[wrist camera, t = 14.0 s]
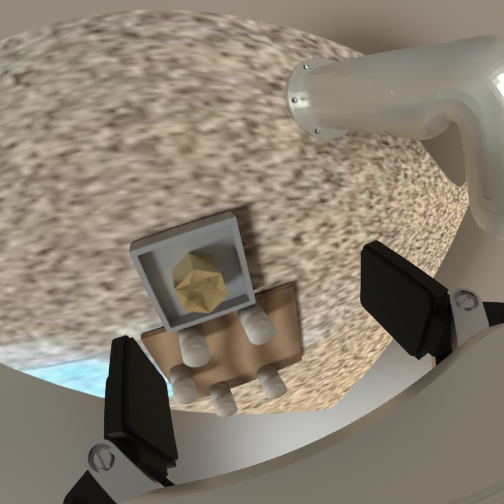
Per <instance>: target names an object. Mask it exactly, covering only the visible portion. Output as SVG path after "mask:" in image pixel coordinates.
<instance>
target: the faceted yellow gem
mask: <svg viewBox="0 0 504 504" xmlns="http://www.w3.org/2000/svg"><path fill="white" fill-rule="evenodd" d="M172 276H173V283H174V289H175V292H176V294H177V296H178V299H179V301H180V303H181V305H182V308H183V310H184V311H191V312H202V313H210V312H211V311H212V310H213V309H214V308H216V307H217V306H218V305H219V304H220V303H221V302H222V301H223V300H224V299H225V298H226V297H227V296H228V294H227V291H226V288H225V284H224V281H223V278H222V275H221V272H220V270H219V268H218V266H217V264H216V262H215V259H214V257H213V256H211V255H204V254H198V253H191V252H188V253H187V254H186V255H185V256H184V257H183V258H182V259H181V260H180V261H179V263H178V264H177V265H176V266H175V267H174V268H173V269H172Z"/></svg>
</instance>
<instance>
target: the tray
mask: <svg viewBox="0 0 504 504" xmlns="http://www.w3.org/2000/svg"><path fill="white" fill-rule="evenodd" d="M188 252H191V253H198V254H204V255H211V256H213V257H214V259H215V262H216V264H217V266H218V268H219V270H220V272H221V275H222V278H223V281H224V284H225V288H226V291H227V294H228V296H227V297H226V298H225V299H224V300H223V301H222V302H221V303H220V304H219V305H218V306H217V307H216V308H214V309H213V310H212V311H211V312H210V313H202V312H191V311H184V310H183V308H182V305H181V303H180V301H179V299H178V296H177V294H176V292H175V289H174V283H173V276H172V269H173V268H174V267H175V266H176V265H177V264H178V263H179V261H180V260H181V259H182V258H183V257H184V256H185V255H186V254H187V253H188ZM129 253H130V256H131V258H132V260H133V263H134V265H135V267H136V269H137V272H138V274H139V276H140V278H141V280H142V283H143V285H144V287H145V289H146V291H147V293H148V295H149V297H150V299H151V302H152V304H153V306H154V308H155V310H156V312H157V314H158V316H159V317H160V319H161V321H162V323H163V325H164V327H165V329H166V331H167V333H171V332H175V331H178V330H181V329H184V328H187V327H190V326H193V325H196V324H199V323H202V322H205V321H208V320H210V319H213V318H216V317H219V316H222V315H225V314H228V313H230V312H233V311H236V310H239V309H241V308H244V307H247V306H250V305H252V304H255V303H256V301H255V296H254V292H253V288H252V284H251V279H250V275H249V271H248V267H247V262H246V258H245V254H244V250H243V245H242V241H241V237H240V232H239V228H238V224H237V219H236V216H235V215H234V214H233V213H232V212H231V211H230V210H229V211H225V212H222V213H219V214H216V215H213V216H209V217H206V218H203V219H200V220H197V221H194V222H191V223H188V224H185V225H181V226H178V227H175V228H172V229H169V230H167V231H164V232H161V233H158V234H155V235H152V236H149V237H146V238H143V239H141V240H138V241H135V242H132V243H131V245H130V250H129Z"/></svg>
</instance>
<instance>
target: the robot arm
mask: <svg viewBox="0 0 504 504" xmlns="http://www.w3.org/2000/svg"><path fill="white" fill-rule="evenodd" d="M292 100H293V102H292ZM286 101H287V105H288V109H289V112H290V113H291V115H292V117H293V119H294V120H295V122H296V123H297V124H298V126H299V127H301V128H302V129H303V130H304V131H305V132H307V133H308V134H310V135H312V136H314V137H317V138H322V139H336V138H340V137H342V136H344V135H346V134H347V133H349V132H350V131H359V132H368V133H376V134H383V135H390V136H397V137H403V138H410V139H416V140H426V139H431V138H434V137H436V136H438V135H440V134H441V133H442V132H444V131H445V130H446V129H447V128H448V127H449V126H450V125H451V124H452V123H453V122H454V123H455V124H456V126H457V128H458V130H459V134H460V138H461V143H462V146H463V152H464V160H465V167H466V175H467V185H468V196H469V203H470V208H471V211H472V214H473V217H474V219H475V221H476V222H477V223H478V225H479V226H480V227H481V228H482V230H483V231H485V232H486V233H487V234H489V235H491V236H492V237H494V238H497V239H499V240H503V241H504V36H495V35H487V36H477V37H471V38H467V39H461V40H456V41H452V42H446V43H441V44H435V45H430V46H424V47H417V48H410V49H402V50H395V51H389V52H383V53H377V54H372V55H366V56H362V57H357V58H352V59H348V60H344V61H340V62H336V61H334V60H331V59H328V58H322V57H318V58H312V59H308V60H306V61H304V62H302V63H300V64H299V65H297V66H296V67H295V68H294V70H293V71H292V72H291V74H290V76H289V78H288V81H287V85H286ZM447 292H448V289H447V288H445V287H444V286H443V285H441V284H440V283H439V282H437V281H436V280H435V279H433V278H432V277H430V276H429V275H428V274H426V273H425V272H423V271H422V270H421V269H419V268H418V267H416V266H415V265H414V264H412V263H411V262H409V261H408V260H406V259H405V258H403V257H402V256H400V255H399V254H397V253H396V252H394V251H393V250H391V249H390V248H388V247H387V246H385V245H384V244H382V243H381V242H379V241H377V240H376V241H373V242H370V243H368V244H366V245H364V247H363V250H362V251H361V290H360V301H361V304H362V306H363V307H364V309H365V310H366V311H367V312H368V313H369V314H370V315H371V316H372V317H373V318H374V319H375V320H376V321H377V322H378V323H379V324H380V325H381V326H382V327H383V328H384V329H385V330H386V331H387V332H388V333H389V334H390V335H391V336H392V337H393V338H394V339H395V340H396V341H397V342H398V343H399V344H400V345H401V346H402V347H403V348H404V349H405V350H406V351H407V353H408V354H409V355H411V356H415V357H416V358H417V359H418V360H420V359H421V358H422V357H423V356H425V355H426V354H427V353H429V354H431V356H432V370H430V371H429V372H428V373H427V374H426V375H424V376H423V377H421V378H420V379H419V380H418V381H416V382H415V383H414V384H412V385H411V386H409V387H408V388H407V389H405V390H404V391H402V392H401V393H399V394H398V395H396V396H395V397H393V398H392V399H390V400H389V401H387V402H386V403H384V404H383V405H381V406H379V407H378V408H376V409H375V410H373V411H371V412H370V413H368V414H366V415H365V416H363V417H361V418H359V419H358V420H356V421H354V422H352V423H351V424H349V425H347V426H345V427H343V428H341V429H340V430H338V431H336V432H333V433H331V434H329V435H327V436H325V437H323V438H322V439H319V440H317V441H315V442H313V443H310V444H308V445H306V446H304V447H301V448H299V449H297V450H294V451H292V452H289V453H287V454H284V455H282V456H279V457H276V458H274V459H271V460H269V461H265V462H263V463H259V464H256V465H254V466H250V467H247V468H244V469H241V470H237V471H233V472H230V473H226V474H223V475H219V476H215V477H211V478H207V479H203V480H198V481H194V482H189V483H184V484H177V483H176V482H174V481H173V480H172V479H170V478H169V477H168V476H167V475H168V473H167V468H173V467H176V462H175V460H177V459H178V453H177V448H176V442H175V437H174V431H173V425H172V419H171V413H170V406H169V398H168V391H167V384H166V382H165V379H164V378H163V377H162V375H161V374H160V373H159V372H158V370H157V369H156V368H155V366H154V365H153V364H152V363H151V361H150V360H149V359H148V357H147V356H146V355H145V353H144V352H143V350H142V349H141V348H140V346H139V345H138V344H137V342H136V341H135V339H134V338H132V337H131V338H129V337H128V336H127V335H125V336H122V337H119V338H115V339H113V340H112V345H111V354H110V364H109V376H108V378H107V380H106V390H105V410H104V411H105V412H104V439H101V440H97V441H94V442H93V443H92V444H90V446H89V447H88V448H87V450H86V453H85V464H86V467H87V468H88V470H87V471H86V472H85V474H84V475H83V476H82V477H81V478H80V479H79V481H78V482H77V483H76V484H75V486H74V487H73V488H72V489H71V491H70V492H69V493H68V494H67V495H66V497H65V499H64V502H63V504H504V303H500V302H482V300H481V298H480V296H479V295H478V294H477V293H476V292H475V291H473V290H471V289H468V288H457V289H455V290H454V291H453V292H452V293H451V295H449V294H447Z"/></svg>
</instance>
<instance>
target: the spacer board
mask: <svg viewBox="0 0 504 504" xmlns="http://www.w3.org/2000/svg"><path fill="white" fill-rule="evenodd" d="M255 301H256V303H255V304H252V305H250V306H247V307H244V308H241V309H239V310H236V311H233V312H230V313H228V314H225V315H222V316H219V317H216V318H213V319H210V320H208V321H205V322H202V323H199V324H196V325H193V326H190V327H187V328H184V329H181V330H178V331H175V332H171V333H167V331H166V329H165V327H163V328H160V329H157V330H154V331H151V332H147V333H144V334H141V340H142V342H143V344H144V345H145V347H146V348H147V350H148V351H149V353H150V354H151V356H152V357H153V359H154V360H155V362H156V363H157V365H158V366H159V368H160V369H161V371H162V372H163V374H164V375H165V376H166V378H167V379H168V381H169V382H170V383H171V385H172V391H173V397H174V400H175V401H176V402H177V403H180V404H189V403H192V402H194V401H195V400H197V399H200V398H203V397H206V396H210V395H211V397H212V400H213V404H214V407H215V410H216V413H217V415H218V416H221V417H227V416H230V415H233V414H234V413H236V411H237V406H236V404H235V401H234V398H233V396H232V393H231V390H230V389H231V388H233V387H236V386H239V385H242V384H245V383H247V382H250V381H253V380H255V379H259V381H260V383H261V385H262V387H263V389H264V392H265V394H266V396H267V398H269V399H276V398H279V397H281V396H282V395H284V394H285V392H286V391H287V388H286V386H285V385H284V383H283V381H282V379H281V377H280V376H279V374H278V372H277V371H278V370H280V369H283V368H285V367H287V366H290V365H292V364H294V363H297V362H299V361H301V360H302V357H301V347H300V338H299V328H298V320H297V311H296V303H295V294H294V286H293V285H292V284H291V283H288V284H285V285H283V286H280V287H277V288H275V289H272V290H270V291H267V292H264V293H261V294H259V295H256V296H255Z"/></svg>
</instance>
